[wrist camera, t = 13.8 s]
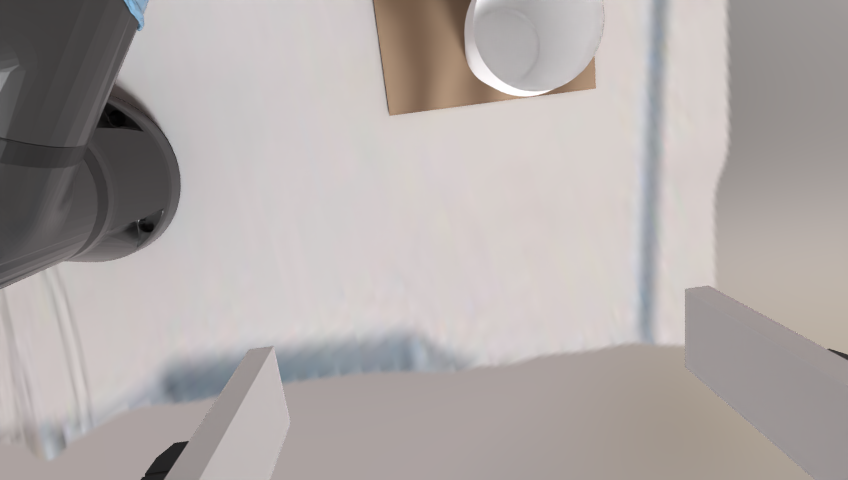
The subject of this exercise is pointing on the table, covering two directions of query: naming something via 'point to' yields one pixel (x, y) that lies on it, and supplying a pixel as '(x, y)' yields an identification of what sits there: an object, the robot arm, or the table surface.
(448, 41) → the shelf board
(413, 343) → the table surface
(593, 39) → the cup
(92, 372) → the table surface
